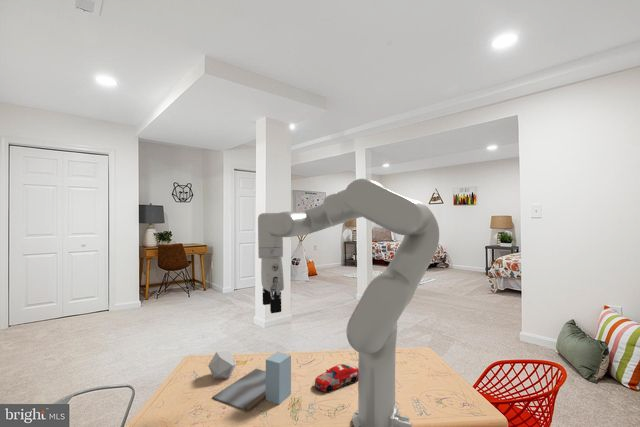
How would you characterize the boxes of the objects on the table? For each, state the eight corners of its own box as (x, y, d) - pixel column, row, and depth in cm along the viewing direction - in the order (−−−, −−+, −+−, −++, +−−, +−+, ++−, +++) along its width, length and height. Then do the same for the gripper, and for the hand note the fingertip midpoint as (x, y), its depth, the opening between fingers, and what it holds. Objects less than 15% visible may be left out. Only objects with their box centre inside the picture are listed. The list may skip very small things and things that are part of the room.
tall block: (291, 394, 98) (291, 355, 98) (279, 404, 93) (279, 363, 93) (277, 390, 100) (277, 351, 100) (265, 399, 95) (265, 359, 95)
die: (220, 387, 103) (238, 359, 106) (199, 372, 104) (217, 345, 107) (227, 384, 111) (243, 358, 114) (207, 369, 112) (224, 344, 115)
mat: (288, 379, 107) (288, 376, 107) (248, 412, 89) (248, 408, 89) (256, 369, 114) (256, 366, 114) (212, 398, 96) (212, 394, 96)
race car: (321, 396, 98) (321, 380, 98) (310, 386, 103) (310, 370, 103) (363, 381, 106) (363, 366, 106) (351, 372, 112) (350, 358, 112)
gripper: (291, 254, 93) (292, 314, 93) (275, 249, 109) (276, 300, 109) (265, 256, 90) (266, 317, 90) (252, 250, 106) (253, 303, 106)
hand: (271, 308), depth 99 cm, fingers open, 9 cm apart
